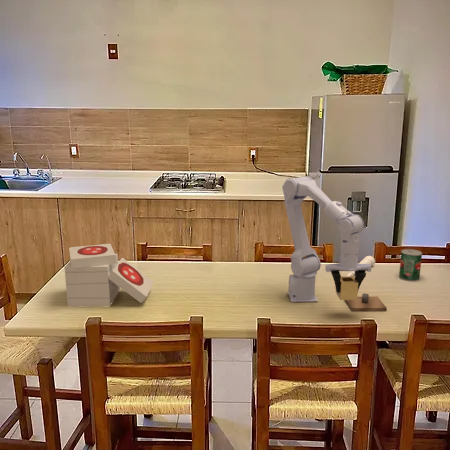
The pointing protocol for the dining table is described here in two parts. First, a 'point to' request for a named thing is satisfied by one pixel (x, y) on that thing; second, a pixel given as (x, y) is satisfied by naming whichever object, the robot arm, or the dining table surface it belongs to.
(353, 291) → the brass collar
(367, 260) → the unicorn horn
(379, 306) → the post stand
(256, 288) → the dining table surface
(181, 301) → the dining table surface
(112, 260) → the pizza boxes
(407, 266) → the canned tomato
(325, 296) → the dining table surface
